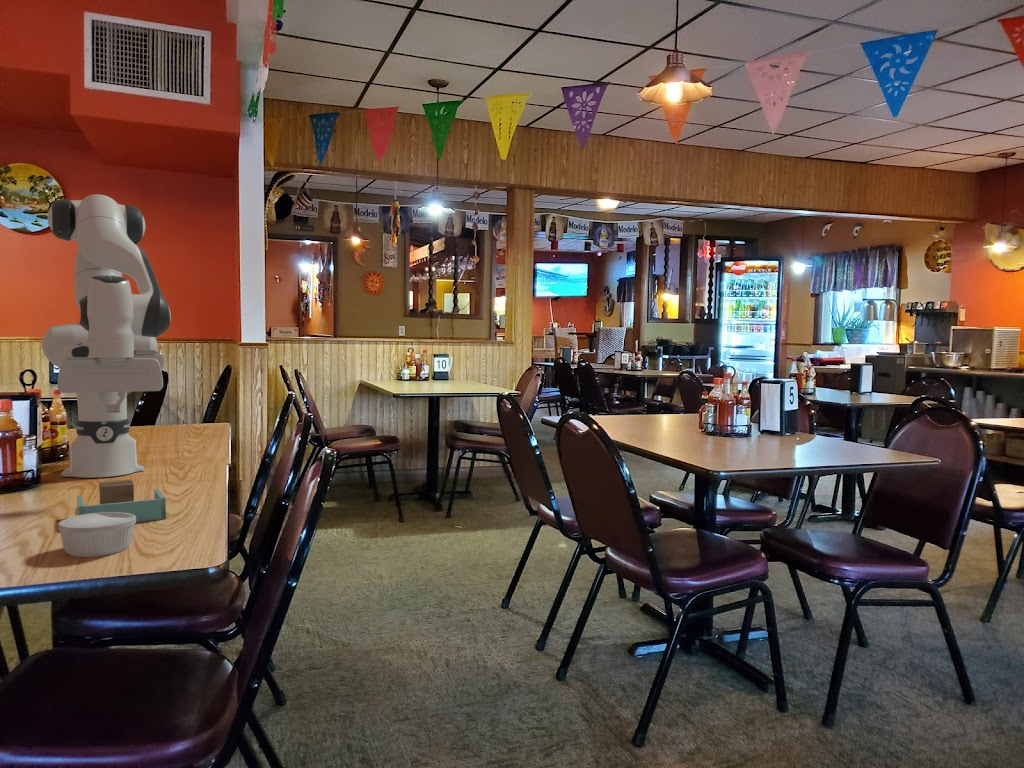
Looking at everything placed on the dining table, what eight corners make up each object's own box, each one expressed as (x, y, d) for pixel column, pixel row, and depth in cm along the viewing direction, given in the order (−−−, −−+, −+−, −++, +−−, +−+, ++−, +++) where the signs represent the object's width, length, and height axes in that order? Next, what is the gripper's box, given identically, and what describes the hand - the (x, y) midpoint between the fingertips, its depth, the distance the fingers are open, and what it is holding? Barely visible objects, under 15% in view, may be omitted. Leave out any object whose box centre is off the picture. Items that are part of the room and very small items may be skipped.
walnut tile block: (99, 505, 151) (99, 481, 151) (131, 502, 154) (131, 479, 154) (101, 510, 146) (100, 486, 146) (134, 507, 149) (133, 484, 149)
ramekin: (148, 541, 125) (148, 511, 125) (114, 560, 114) (113, 528, 113) (84, 540, 125) (83, 510, 124) (43, 560, 114) (43, 527, 113)
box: (77, 516, 141) (77, 496, 141) (158, 507, 149) (158, 489, 149) (79, 528, 132) (78, 507, 132) (165, 518, 140) (165, 498, 140)
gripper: (161, 349, 163) (162, 409, 164) (56, 349, 152) (58, 413, 153) (165, 350, 158) (166, 411, 159) (56, 349, 147) (58, 416, 148)
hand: (112, 412), depth 156 cm, fingers closed
